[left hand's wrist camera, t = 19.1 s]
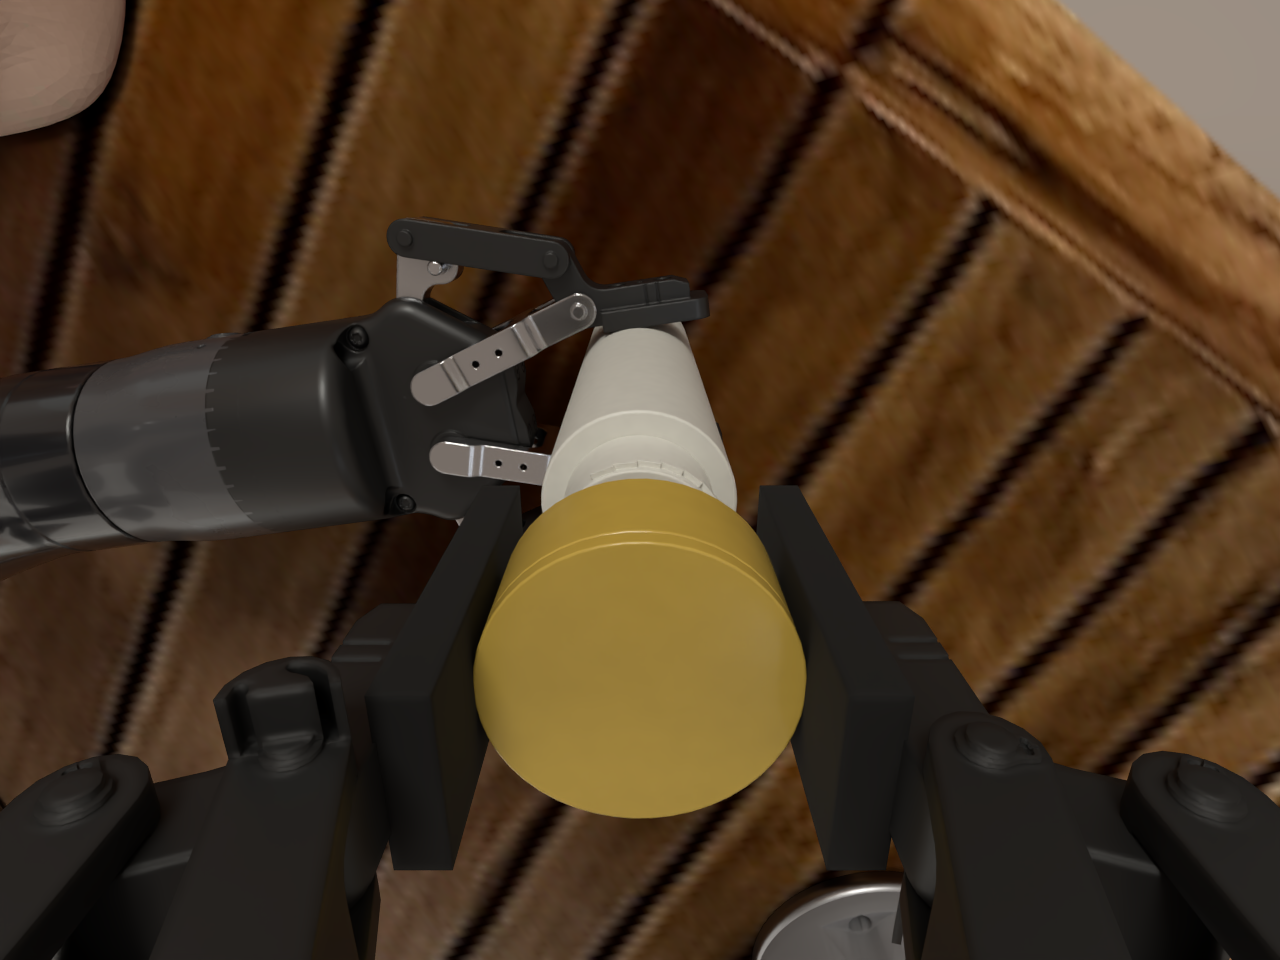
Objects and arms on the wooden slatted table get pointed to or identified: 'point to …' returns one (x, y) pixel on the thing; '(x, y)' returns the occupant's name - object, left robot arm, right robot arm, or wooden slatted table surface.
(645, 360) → the white bottle
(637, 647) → the lid
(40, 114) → the anatomical model
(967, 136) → the wooden slatted table surface
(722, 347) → the wooden slatted table surface
